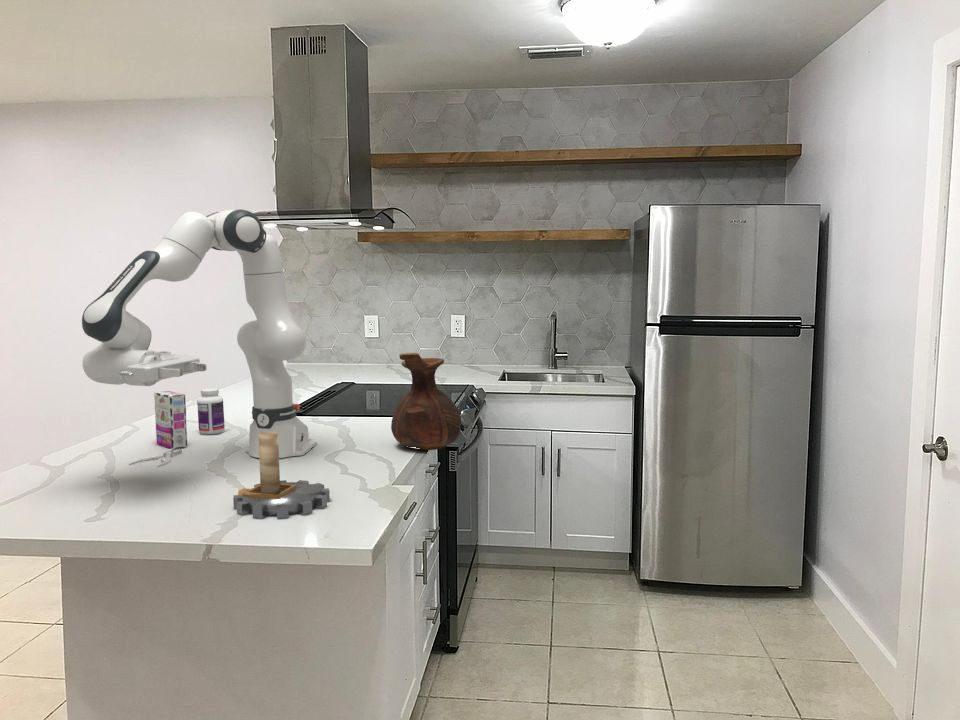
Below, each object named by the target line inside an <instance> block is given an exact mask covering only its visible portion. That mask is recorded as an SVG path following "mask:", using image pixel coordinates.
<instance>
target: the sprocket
mask: <svg viewBox="0 0 960 720" xmlns="http://www.w3.org/2000/svg"><path fill="white" fill-rule="evenodd" d="M237 493H238V494H235V495H233V497H232V499H233V500H232V501H233V510H236V514H238V515H241V516H246V515H252V518H253V519H258V518H262V519H261V520H263V519H265V518H267V517H277V520H281V519H289V516H294V515H301V516H307V515H311V514H313V510H314V509H317V510H319V509H320V510H323V509H325V508H326V507H327V506H328V502H331V501H330V500H331V499H330V497H331V496H330V495H331V494H330V489H329V488H327V487H326V488H325V484H323V483H320V482H317V483H309V480H303V479H302V480H297V481H296V482H295V481H289V482H287V479H286V480H284V479H282V480H280V493H278V494H274V495H273V494H262V493H261V485H260V483H257V484H253V487H252V488H245V487H243V488H241V489H240V490H238V492H237Z"/></svg>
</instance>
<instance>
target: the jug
mask: <svg viewBox="0 0 960 720" xmlns="http://www.w3.org/2000/svg"><path fill="white" fill-rule="evenodd" d="M399 359H400V360H402V362H401V366H402V367H404V368H405V369H408V371H410V374H411V388H410V390H409V392H407V394H405V395H404V396H403V397H402V398H401V399H400V400H399V402H398V403H397V406H396V408H395V410H394V412H393V415H392V419H391V425H390V429H391V433H392V435H393V438H394V439H395V441H396V442H398V443H399V444H400V445H402V446H404V447H405V446H408V447H416V448H420V449H421V450H423V451H433V450H441V449H443V448H446V447H448V445H449V446H450V445H451V444H452V443H455V442H456V441H457V439H458V438H459V437H460V434H461V432H462V431H461V430H462V417H461V413H460V411H459V409H458V408H457V406H456V404H455V403H454V401H453V400H452V398H451V397H449V396H448V394H446V393H444V392H442V391H441V390H440V389H439V388H438V386H437V383H436V372H437V369H438V368H440V367H441V366H442V365H444V363H445V359H443V358H439V357H425V358H424V357H423V358H422V357H421V355H420V354H419V353H417V352H407V353H406V352H405V353H400V354H399Z"/></svg>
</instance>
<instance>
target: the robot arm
mask: <svg viewBox="0 0 960 720" xmlns="http://www.w3.org/2000/svg"><path fill="white" fill-rule="evenodd" d="M211 249H213V250H216V251H226V252H235V251H236V252H237V254H238V255H239V257H240V259H241V262H242V271H243V280H244V291H245V298H246V299H245V301H246V302H247V304H248V305H249V307H250V308H251V309H252V311H253V313H254V315H255V317H256V320H250V321H247V322H245V323H243V324H242V326H240V328H239V330H238V331H237V335H236V339H237V344H238V346H239V349H241V350H242V352H243V354H244V356H245V360H246V363H247V365H248V366H247V367H248V369H249V373H250V377H251V382H252V398H253V400H252V401H253V403H252V404H253V406H252V407H251V408H252V409H251V415H252V416H251V418H252V422H251V423H250V424H249V433H248V446H247V447H245V452H246V453H248V455H249V456H250V457H253V458H258V459H259V433H262V432H278V441H279V459H282V458H284V459H285V458H289V457H299V456H304V455H306V454H307V453H309V451H311V450H312V449H313V448H314V447H315V446H316V445H318V442H317V440H315V439H310V438H309V434H310V433H309V427H308V426H307V425H306V424H305V423H304V422H303V421H302V420H300V419H299V417H297V411H300V409H301V408H300V407H301V405H300V403H294V402H293V380H292V377H291V375H290V374H289V372H288V371H287V368H286V367H285V364H284V361H291V360H294V359H296V358H298V357H300V356H301V355H302V354H303V353H304V351H305V349H306V345H307V337H306V335H305V332H304V331H303V330H302V329H301V327H300V326H299V325H298V323H297V322H296V320H295V319H296V318H295V317H294V315H293V312H292V310H291V306H290V304H289V301H288V297H287V289H286V281H285V274H284V273H285V272H284V264H283V259H282V258H283V257H282V254H281V250H280V247H279V244H278V241H277V239H276V238H275V237H274V236H273V235H270V234H269V233H267V232H266V230H265V229H264V226H263V224H262V221H261V220H260V218H259V217H258V216H257V215H256V214H255V213H253V212H252V211H249V210H246V209H226V210H222V211H217V212H213V213H210V214H208V215H205V214H202V213H200V212H198V211H187V212H185V213H183V214H182V215H181V216H180V217H179V218H178V219H176V221H175V222H173V224H172V226H170V227H169V229H168V230H167V231H166V233H165V234H164V236H163V237H162V239H161V240H160V242H159V243H158V244H156V246H155V247H153V248H152V249H151V250H150V249H149V250H144V251H142V252H141V253H139V254H138V255H137V256H135V258H134V259H133V260H132V261H131V262H130V263H129V264H128V265H127V266H126V267H125V268H124V269H123V270H122V271H121V273H120V274H119V275H118V276H117V277H116V278H115V279H114V280H113V282H112V283H111V284H110V285H109V286H108V287H107V288H106V289H105V291H103V292H102V294H100V295H99V296H98V297H97V298H96V299H95V300H93V301H92V302H91V303H89V304H88V306H86V308H85V309H84V311H83V314H82V318H81V328H82V331H83V333H84V334H85V335H87V337H89V338H92V339H94V340H95V341H98V342H100V344H99V345H98V346H96V347H95V348H93V349H92V350H89V351H87V352H86V353H84V356H83V358H82V368H83V371H84V373H85V375H86V376H87V377H88V378H89V379H90V380H91V381H93V382H96V383H101V384H106V385H115V386H117V385H118V386H119V385H123V384H124V385H125V384H126V385H128V386H129V385H130V386H136V387H137V386H140V387H151V386H154V385H156V383H159V382H160V381H162V380H166V379H171V378H180V377H182V376H184V375H188V374H193V373H197V372H198V373H199V372H206V371H207V368H208V367H207V364H206V363H201V361H200V358H199V357H197V356H193V355H187V354H186V355H184V354H176V353H175V354H173V353H172V352H171V351H156V350H150V349H149V348H150V346H151V342H152V330H151V328H150V327H149V326H148V325H147V324H146V323H145V322H143V321H142V320H140V319H139V318H138V317H136V316H135V315H133V314H132V313H130V312H129V311H127V309H126V308H127V305H128V303H129V302H130V301H132V299H133V298H134V297H135V295H136V294H138V292H139V291H140V290H141V289H142V287H144V285H145V284H147V283H148V282H150V281H152V280H161V281H167V282H171V283H173V282H175V283H176V282H182V281H185V280H188V279H190V277H192V275H193V274H194V273H195V272H196V271H197V270H198V268H199V266H200V264H201V263H202V261H203V260H204V258H205V257H206V254H207V253H208V252H209V251H210V250H211ZM312 447H313V448H312ZM311 448H312V449H311ZM305 453H306V454H305Z"/></svg>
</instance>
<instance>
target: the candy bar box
mask: <svg viewBox="0 0 960 720" xmlns="http://www.w3.org/2000/svg"><path fill="white" fill-rule="evenodd" d="M153 393H154V395H153V396H154V397H153V398H154V412H155V413H154V415H155V416H154V417H155V436H156V438H155V439H156V445H158V446H161V447H164V448H167V449H168V450H169V449H174V451H176V450H180V449H185V448H188V432H187V431H188V430H187V408H186V406H187V405H186V394H183V393H180V392H174V391H170V390H165V391H163V390H162V391H157V392H153Z"/></svg>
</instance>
